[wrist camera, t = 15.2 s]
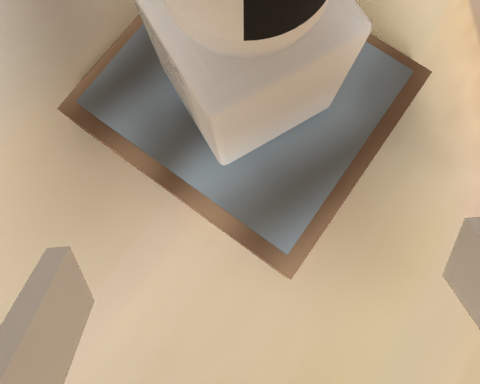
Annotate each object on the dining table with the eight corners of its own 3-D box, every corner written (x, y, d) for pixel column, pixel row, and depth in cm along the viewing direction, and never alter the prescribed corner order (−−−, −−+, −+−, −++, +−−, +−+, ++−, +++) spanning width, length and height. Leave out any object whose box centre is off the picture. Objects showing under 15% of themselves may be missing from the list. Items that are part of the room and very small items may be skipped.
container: (266, 12, 23) (294, -304, 10) (331, 107, 21) (460, -116, 9) (161, 67, 22) (48, -196, 9) (222, 169, 21) (187, 26, 8)
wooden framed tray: (75, 123, 25) (53, 105, 22) (211, -35, 27) (207, -72, 24) (285, 277, 22) (292, 279, 19) (413, 90, 25) (436, 67, 22)
